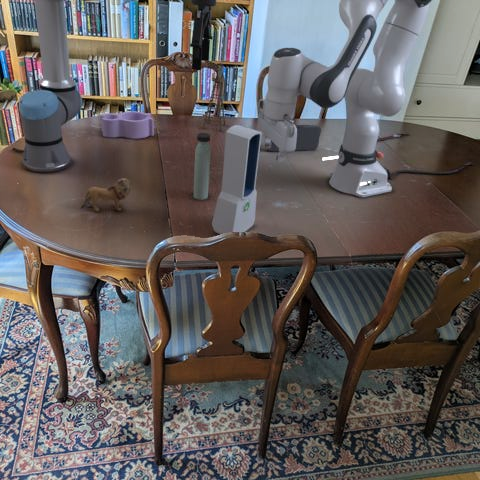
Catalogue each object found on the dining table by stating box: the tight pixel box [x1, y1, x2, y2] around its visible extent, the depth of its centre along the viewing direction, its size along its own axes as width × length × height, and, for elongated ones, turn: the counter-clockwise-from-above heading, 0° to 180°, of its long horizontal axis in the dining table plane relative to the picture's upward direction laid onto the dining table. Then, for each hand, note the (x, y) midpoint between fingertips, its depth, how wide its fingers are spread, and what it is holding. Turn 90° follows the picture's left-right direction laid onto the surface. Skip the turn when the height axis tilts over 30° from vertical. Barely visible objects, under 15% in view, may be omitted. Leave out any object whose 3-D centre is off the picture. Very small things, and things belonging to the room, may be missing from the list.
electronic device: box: [211, 124, 263, 235], centre depth 127 cm, size 12×8×30 cm, turn 148°
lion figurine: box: [80, 177, 132, 212], centre depth 136 cm, size 15×5×9 cm, turn 110°
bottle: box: [192, 141, 212, 201], centre depth 145 cm, size 5×5×20 cm
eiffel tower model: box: [202, 55, 226, 132], centre depth 198 cm, size 9×8×30 cm
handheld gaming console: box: [266, 124, 322, 152], centre depth 189 cm, size 23×3×10 cm, turn 108°
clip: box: [100, 110, 155, 140], centre depth 188 cm, size 20×12×7 cm, turn 109°
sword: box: [377, 133, 409, 142], centre depth 213 cm, size 31×3×1 cm, turn 126°
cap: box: [196, 132, 211, 143], centre depth 139 cm, size 4×4×2 cm
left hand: (200, 65), depth 149 cm, fingers open, 13 cm apart
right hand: (273, 154), depth 140 cm, fingers open, 8 cm apart
